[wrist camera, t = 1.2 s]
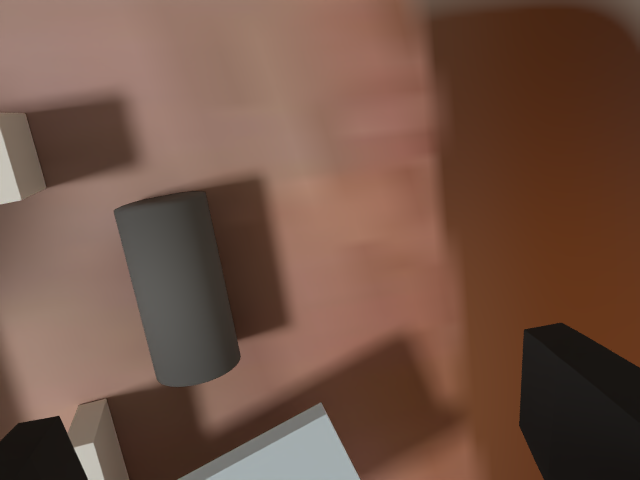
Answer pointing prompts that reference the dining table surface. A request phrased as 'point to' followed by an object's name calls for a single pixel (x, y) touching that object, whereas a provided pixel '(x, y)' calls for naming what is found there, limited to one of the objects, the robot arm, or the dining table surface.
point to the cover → (286, 454)
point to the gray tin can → (179, 287)
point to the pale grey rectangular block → (91, 418)
